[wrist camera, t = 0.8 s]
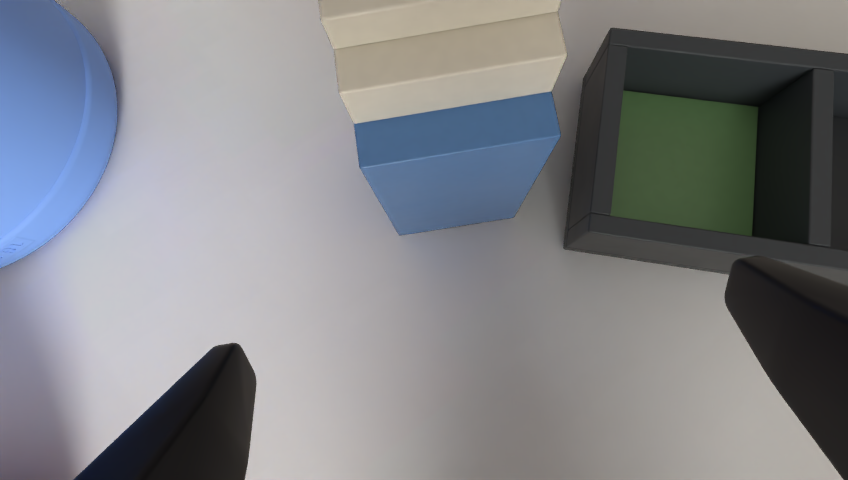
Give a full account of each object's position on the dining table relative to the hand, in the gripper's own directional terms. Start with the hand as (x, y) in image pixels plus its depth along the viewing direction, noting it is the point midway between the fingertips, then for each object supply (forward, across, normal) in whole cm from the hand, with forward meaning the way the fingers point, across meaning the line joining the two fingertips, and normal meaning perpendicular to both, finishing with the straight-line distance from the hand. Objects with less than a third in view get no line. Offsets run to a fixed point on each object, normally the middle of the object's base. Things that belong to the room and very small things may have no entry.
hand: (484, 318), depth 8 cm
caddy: (+12, -14, +6) cm, 20 cm away
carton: (+15, 0, +4) cm, 15 cm away
